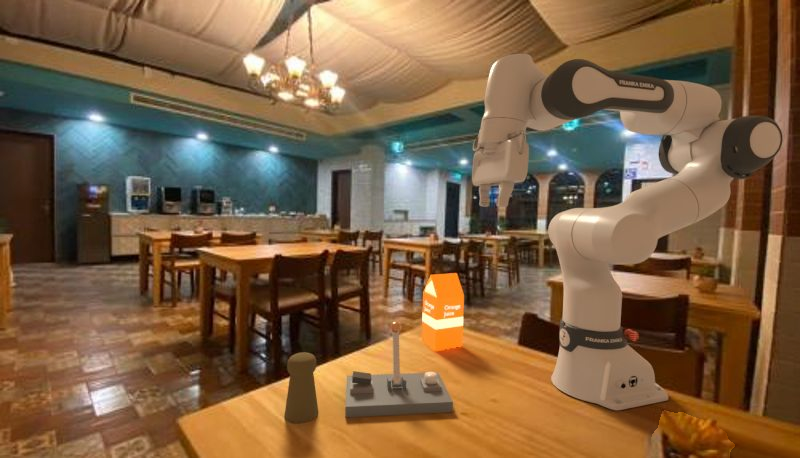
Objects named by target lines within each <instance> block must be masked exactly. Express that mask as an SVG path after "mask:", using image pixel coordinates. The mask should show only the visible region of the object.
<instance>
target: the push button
mask: <svg viewBox="0 0 800 458" xmlns="http://www.w3.org/2000/svg"><path fill="white" fill-rule="evenodd" d="M424 373H425V379H424V381H425V383H427V384H436V383H437V372H434V371H425V372H424Z"/></svg>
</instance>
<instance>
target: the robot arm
mask: <svg viewBox="0 0 800 458" xmlns="http://www.w3.org/2000/svg"><path fill="white" fill-rule="evenodd" d="M483 101H484V113H483V116H482V118H481V123H480V129H479V131H478V132H479V133H478V135H477V137H476V138H475V140H474V141H473V143H472V144H473V145H472V151H474V154H473V160H472V170H471V171H472V172H471V173H472V174H471V182H472V185H473V186H477V187H478V194H479V203H478V205H479V206H480V207H484V208H485V207H487V208H488V207H490V202H491V198H490V191H491V187H495V186H499V188H500V191H499V194H498V196H496V203H495V205H496V206H497V207H501V208H506V207H508V206H509V202H510V197H511V195H512V192H513V191H514V189H515V188H514V187H515V184H517V183H524V181H525V180H526V178H527V175H528V170H529V157H530V146H529V143H528V142H527V135H526V131H527V128H528V129H530V130H535V131H539V132H540V131H542V132H543V131H549V130H551V129H555V128H557V127H559V126H562V125H564V124H567V123H569V122H572V121H575V120H579V119H582V118H585V117H588V116H591V115H594V114H595V113H598V112H600V111H613V112H614V111H615V112H619V117H620V121H621V122H622V123H621V124H622V125H623V126H624V127H625V129H626V130H627V131H629V132H632V133H636V134H641V135H649V136H661V138H660V143H659V146H658V160H659V161H658V162H660V163H659V164H660V165H661V167H662V169H663V170H664V171H666V172H667V173H670V174H673V176H671V177H668V178H665V179H663V180H660V181H657V182H654V183H652V184H649V185H646V186H644V187H641V188H639V189H636V190H634V191H632V192H630V193H629V194H628V195H627V196H626V197H625V199H624V201H622V202H620V203H618V204H615V205H611V206H604V207H574V208H570V209H567V210H564V211H561V212H559V213H557V214H556V215H554V216H553V218H552V219H551V220H550V222H549V224H548V228H547V229H548V231H547V233H548V234H547V235H548V237H549V241H550V242H551V243H552V245H553V246H554V249H555V250H556V255H557V257H558V261H559V266H560V271H561V276H562V285H563V299H562V317H561V318H560V321H559V332H558V334H559V335H558V337H559V350H558V354H557V359H556V363H555V366H554V370H553V373H552V375H551V377H550V379H551V383H552V384H553V386H555V388H557V389H558V390H560V391H561V392H563V393H565V394H567V395H569V396H570V397H573V398H576V399H579V400H581V401H584V402H585V401H586V402H589V403H593V404H597V405H600V406H602V407H604V408H607V409H610V410H613V411H622V410H623V411H624V410H627V409H631V408H638V407H641V406H642V407H643V406H647V405H651V404H657V403H662V402H667V401H669V395H668V392H667V391H666V390H665V389H664V388H663V387H661V386H660V385H659V384H658V383H656V377H655V371H654V369H653V366H652V364H651V363H650V362H649V361H648V360H646V359H645V358H644V357H643V356H642V355H640V353H638V351H636V350H635V349H633V347H631V346H630V345H629V344H628V341H627V339H629V340H630V341H633V342H637V341H638V340H639V337H640V336H639V333H638V331H635V330H632V329H630V328H627V329H625V328H624V327H623V326H621V320H622V319H621V318H622V317H621V316H622V306H623V305H622V303H623V293H622V289H621V287H620V285H619V284H618V283H617V281H616V280H615V278H614V277H613V275H612V273H611V269H610V266H609V264H610V265H617V266H618V265H637V264H641V263H643V262H645V261H646V260H648V259H649V258H650V257H651V256H652V255H653V254H654V252H655V250H656V248H657V246H658V241H659V239H660V238H662V237H665V236H667V235H669V234H671V233H675V232H676V231H678V230H682V229H684V228H686V227H689V226H690V225H693V224H696V223H697V222H699V221H701V220H704V219H706V218H707V217H710V216H711V215H712V214H714V213H716V212H717V211H718V210H720V209H721V208H723V207H724V206H725V205H726V204H727V203H728V201H729V200H730V197H731V183H732V181H733V180H734V179H737V180H747V179H748V178H751V177H752V175H754V174H755V172H756V171H757V170H759V169H761V168H763V167H765V166H766V165H768V164H769V163H770V162H771V161H772V160H773V159H774V158H775V157H776V156H777V154H778V153H779V151H780V150H781V148H782V144H783V132H782V130H781V128H780V126H779V124H778V122H776V121H775V120H774V119H772V118H771V117H769V116H763V115H743V116H738V118H731V119H723V120H721V117H719V115H720V113H721V110H722V105H723V104H722V98H721V95H720V93H719V92H718V91H717V90H716V89H715V88H713V87H710V86H707V85H704V84H700V83H696V82H690V81H686V80H685V81H684V80H673V79H671V80H670V79H661V78H657V77H653V76H652V77H651V76H646V75H645V76H644V75H638V74H631V73H626V72H625V73H624V72H617V71H612V70H608V69H606V68H604V67H602V66H600V65H598V64H596V63H595V62H593V61H590V60H587V59H582V58H576V59H575V58H574V59H571V60H567V61H565V62H563V63H562V64H560V65H558V67H557V68H555V69H554V71H552V72H551V73H550V74H549V75H548V74H546V73H545V72H543V71H542V70H541V69H540V68H539V67H538V65H536V64H535V62H534V60H533V57H532V56H531V55H530V54H527V53H524V52H514V53H510V54H508V55H507V54H506V55H504V56H502V57H500V58H498V59H497V60H496V61H495V62H494V63H493V64H492V66H491V68H490V70H489V75H488V77H487V82H486V88H485V93H484V100H483Z"/></svg>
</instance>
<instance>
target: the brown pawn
mask: <svg viewBox="0 0 800 458" xmlns="http://www.w3.org/2000/svg"><path fill="white" fill-rule="evenodd" d="M286 369H287V370H286V371H287V372H288V374H289V381H288V390H287V394H286V403H285V411H284V418H285V419H284V420H286V421H287V422H289V423H292V424H303V423H308V422H310V421H312V420H314V419H315V418H316V417H317V416H318V415H319V407H318V406H319V405H318V399H317V392H316V391H317V390H316V383H315V375H314V372H315V371H316V370H317V359H316V356H315V355H314V354H312V353H310V352H305V351H304V352H297V353H294V354H292V355H290V356H289V359H288V360H287V364H286Z"/></svg>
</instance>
